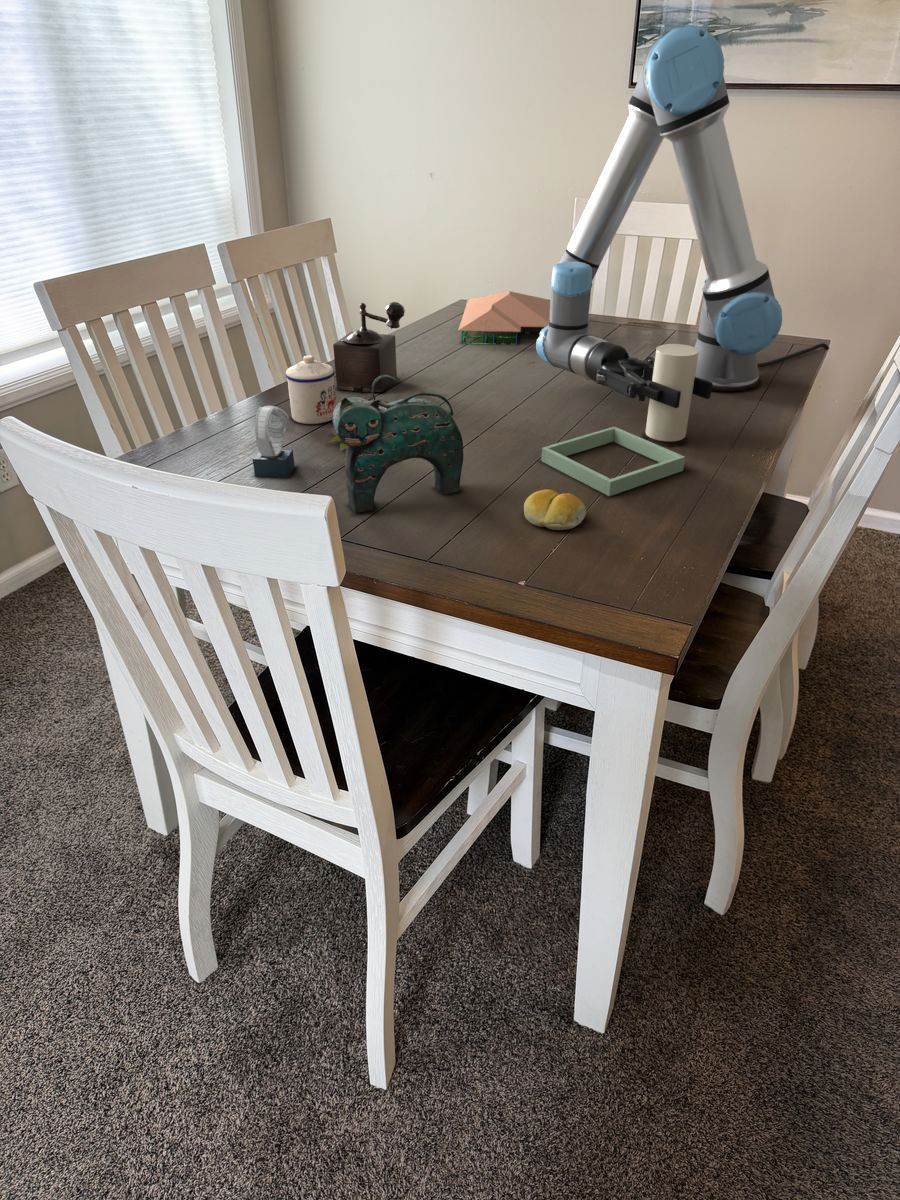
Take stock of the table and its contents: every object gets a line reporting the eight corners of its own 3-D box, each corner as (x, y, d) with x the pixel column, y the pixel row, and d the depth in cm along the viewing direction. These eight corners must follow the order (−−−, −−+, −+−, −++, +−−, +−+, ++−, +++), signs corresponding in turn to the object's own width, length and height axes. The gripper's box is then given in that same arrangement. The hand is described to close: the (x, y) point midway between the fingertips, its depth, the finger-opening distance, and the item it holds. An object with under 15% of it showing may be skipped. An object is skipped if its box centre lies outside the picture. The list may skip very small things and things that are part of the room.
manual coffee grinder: (333, 390, 172) (325, 301, 162) (353, 374, 181) (346, 288, 171) (404, 396, 168) (400, 305, 158) (420, 379, 177) (418, 292, 167)
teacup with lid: (324, 427, 155) (318, 365, 148) (282, 422, 157) (274, 361, 151) (352, 406, 164) (348, 347, 158) (312, 401, 167) (306, 343, 160)
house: (552, 310, 224) (554, 279, 220) (554, 345, 197) (556, 310, 193) (468, 309, 226) (468, 278, 222) (458, 344, 199) (458, 309, 195)
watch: (298, 462, 141) (290, 400, 135) (284, 482, 135) (275, 417, 129) (266, 461, 142) (257, 398, 136) (251, 481, 135) (241, 416, 129)
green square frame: (613, 439, 148) (614, 426, 147) (683, 470, 137) (685, 456, 135) (541, 461, 140) (541, 447, 139) (609, 496, 129) (610, 481, 128)
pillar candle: (664, 423, 152) (676, 341, 143) (693, 435, 147) (707, 351, 139) (637, 432, 148) (647, 348, 140) (666, 444, 144) (678, 358, 135)
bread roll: (538, 501, 128) (539, 477, 126) (591, 515, 124) (593, 490, 122) (512, 522, 122) (513, 497, 120) (567, 537, 118) (568, 512, 116)
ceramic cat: (347, 519, 124) (335, 388, 113) (334, 502, 129) (322, 375, 118) (468, 494, 130) (468, 369, 119) (451, 479, 135) (450, 356, 124)
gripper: (636, 371, 162) (729, 405, 146) (558, 391, 153) (649, 429, 137) (641, 332, 158) (737, 362, 142) (561, 350, 149) (655, 384, 133)
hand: (694, 395), depth 140 cm, fingers closed on pillar candle, 7 cm apart
